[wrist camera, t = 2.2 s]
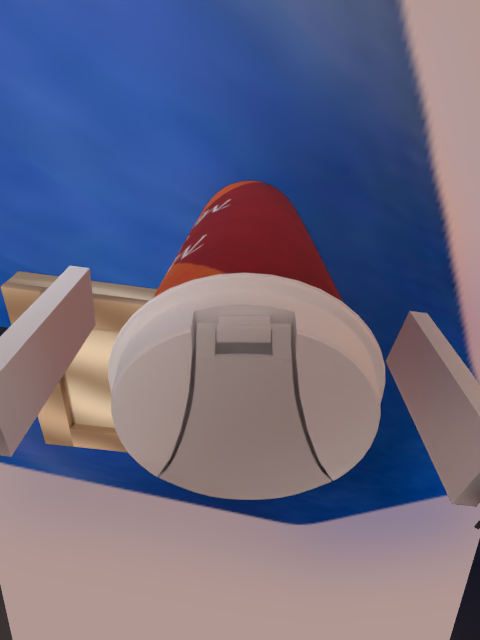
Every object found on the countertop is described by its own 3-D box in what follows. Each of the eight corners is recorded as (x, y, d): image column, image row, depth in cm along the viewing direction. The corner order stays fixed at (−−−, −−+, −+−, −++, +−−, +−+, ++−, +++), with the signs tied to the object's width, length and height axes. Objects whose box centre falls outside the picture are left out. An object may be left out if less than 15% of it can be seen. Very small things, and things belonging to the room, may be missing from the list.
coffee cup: (175, 158, 20) (47, 303, 8) (325, 157, 20) (446, 306, 7) (189, 289, 25) (125, 509, 12) (309, 290, 24) (366, 516, 12)
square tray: (18, 271, 24) (0, 286, 22) (253, 301, 25) (253, 319, 23) (56, 424, 33) (45, 443, 32) (227, 442, 34) (226, 462, 32)
